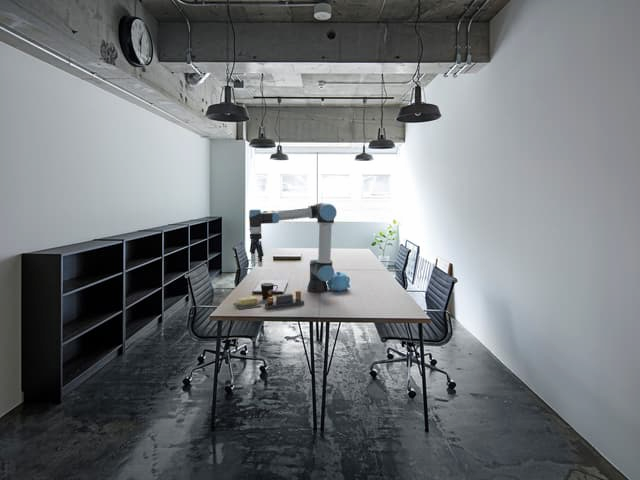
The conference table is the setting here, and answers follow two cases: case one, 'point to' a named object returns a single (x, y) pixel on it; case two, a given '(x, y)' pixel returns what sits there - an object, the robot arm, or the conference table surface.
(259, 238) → the robot arm
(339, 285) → the decorative pot
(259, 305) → the rubber mat
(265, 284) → the coffee mug
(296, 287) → the conference table surface
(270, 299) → the hand plane
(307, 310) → the conference table surface
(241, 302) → the tan rectangular brick
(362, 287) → the conference table surface
